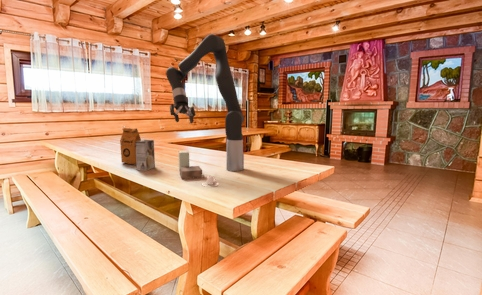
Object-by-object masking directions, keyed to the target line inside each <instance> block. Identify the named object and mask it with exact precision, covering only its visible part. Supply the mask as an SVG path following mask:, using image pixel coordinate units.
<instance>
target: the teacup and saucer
mask: <svg viewBox="0 0 482 295" xmlns="http://www.w3.org/2000/svg"><path fill="white" fill-rule="evenodd" d="M206 184H207V185H206ZM213 184H215V185H213ZM201 185H202V186H203V187H207V188H210V187H211V188H212V187H216V186H219V185H220V183H219V182H218V181H217V180H216V179H215V177H214V175H207V176H206V181H205V182H202V183H201Z"/></svg>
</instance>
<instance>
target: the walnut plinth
mask: <svg viewBox="0 0 482 295" xmlns="http://www.w3.org/2000/svg"><path fill="white" fill-rule="evenodd" d="M179 175H180V178H181V180H192V179H193V180H195V179H203V169H202V168H201V167H200V166H199V165H191V166H190V165H189V167H180V171H179Z"/></svg>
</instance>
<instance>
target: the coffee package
mask: <svg viewBox="0 0 482 295" xmlns="http://www.w3.org/2000/svg"><path fill="white" fill-rule="evenodd" d="M122 131H123V132H122V134H121V137H120V140H119V144H120V145H119V146H120V158H121V163H123V164H129V165H135V166H137V163H136V146H135V142H137V141H142V139H141V136H140V133H139V130H138V128H132V127H131V128H130V127H129V128H128V127H123V128H122Z"/></svg>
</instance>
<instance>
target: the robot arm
mask: <svg viewBox="0 0 482 295" xmlns="http://www.w3.org/2000/svg"><path fill="white" fill-rule="evenodd" d="M226 48H227V46H226V43H225V40H224V39H223V37H221V36H219V35H217V34H208V35H206V37H204V38H203V40H202V41H201V42H200V43H199V44H198V45H197V47H196V48H195V49H193V51H192V52H191V53H190V54H189V55H188V56H186V57H185V58H184V59H183V60H182V61H180V62H179V63H178V68H176V67H174V66H170V67H168V68H167V70H166V73H165V74H166V78H167V80H168V83H169V85H170V86H171V90H172V91H171V92H172V98H173V103H171V104H170V105H169V113H170V115H171V116H174V119H175V120H174V121H175V122H176V123H179V122H180V118H179V114H183V115H186V116H187V117H188V118H189V124H193V123H194V122H195V121H194V120H195V119H194V118H195V116H196V115H197V114H196V110H195V107H194V106H189V105H188V104H189V103H188V102H189V101H188V99H187V93H186V91H185V87H184V83H183V81H184V79H186V77H187V75H188V73H189V72H191V71H192V70H193V69H195V68H196V67H197V65H199V62H201V60H202V59H203V57H205V56H207V55H208V54H213V57H214V61H215V63H216V64H215V65H216V70H215V80H216V84H217V88H218V91H219V93H220V95H221V98H222V99H223V101H224V102H225V106H226V108H227V113H226V115H225V118H224V119H225V121H224V125H225V137H226V157H225V158H226V159H225V160H226V165H225V166H226V168H225V169H226V171H229V172H230V171H231V172H239V171H243V170H244V167H245V155H244V144H243V142H244V136H243V131H242V129H243V127H242V125H243V123H244V122H245V115H244V113H243V110H242V107H241V105H240V103H239V100H238V94H237V89H236V85H235V82H234V77H233V75H232V70H231V67H230V64H229V63H230V62H229V60H228V55H227V54H228V53H227V49H226ZM175 110H176V111H175Z"/></svg>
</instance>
